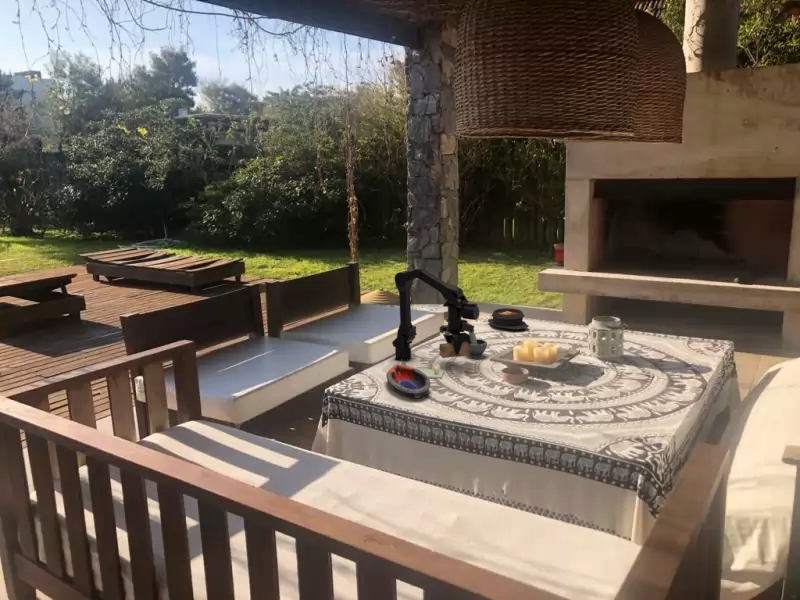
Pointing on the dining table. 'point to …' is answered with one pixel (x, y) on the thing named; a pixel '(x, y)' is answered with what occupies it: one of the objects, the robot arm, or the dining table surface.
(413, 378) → the dish
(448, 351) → the brown rectangular block
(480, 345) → the mortar and pestle
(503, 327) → the casserole
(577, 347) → the dining table surface
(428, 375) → the strip
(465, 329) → the robot arm
